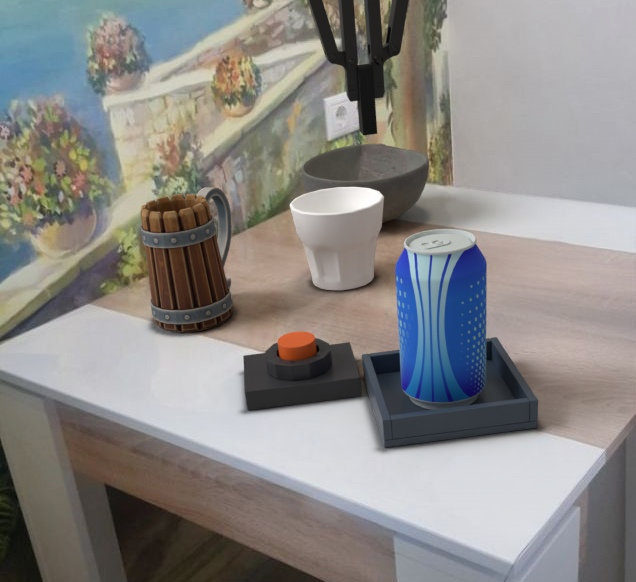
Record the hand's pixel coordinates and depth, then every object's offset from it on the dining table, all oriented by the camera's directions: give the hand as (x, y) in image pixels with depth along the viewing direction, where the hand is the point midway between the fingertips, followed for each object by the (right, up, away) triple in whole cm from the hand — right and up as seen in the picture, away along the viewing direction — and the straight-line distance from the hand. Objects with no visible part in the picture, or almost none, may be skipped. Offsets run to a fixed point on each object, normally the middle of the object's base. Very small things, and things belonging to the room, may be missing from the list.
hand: (368, 131), depth 93 cm
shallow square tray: (+8, -29, -4) cm, 30 cm away
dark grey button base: (-7, -27, +2) cm, 28 cm away
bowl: (+3, +3, +50) cm, 50 cm away
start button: (-7, -23, +1) cm, 25 cm away
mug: (-20, -15, +24) cm, 35 cm away
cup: (-2, -10, +28) cm, 30 cm away
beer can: (+7, -28, -4) cm, 29 cm away
